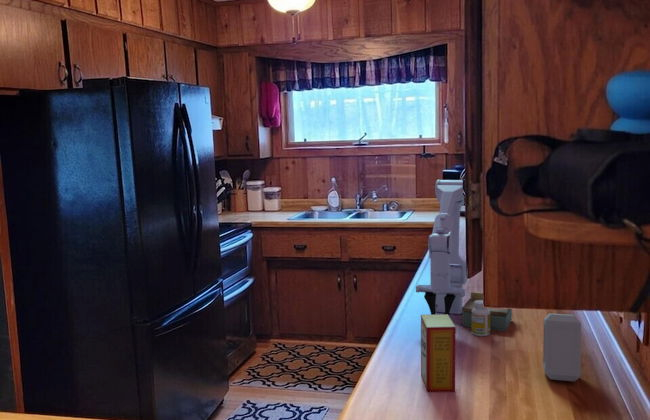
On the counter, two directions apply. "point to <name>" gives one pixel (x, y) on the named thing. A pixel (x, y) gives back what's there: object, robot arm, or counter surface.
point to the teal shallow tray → (495, 320)
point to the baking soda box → (438, 353)
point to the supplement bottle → (480, 319)
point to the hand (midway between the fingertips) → (440, 317)
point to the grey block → (562, 347)
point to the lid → (479, 296)
